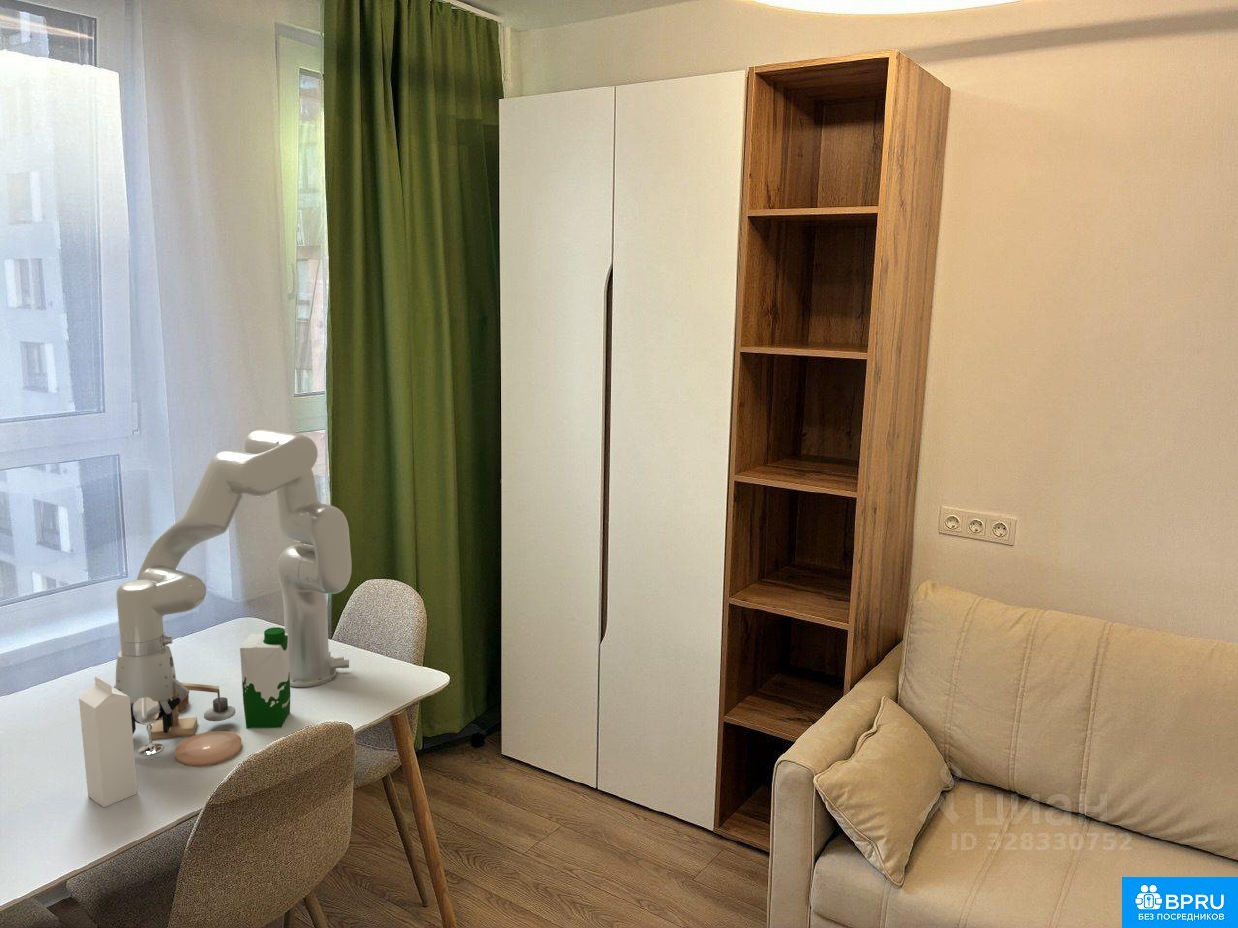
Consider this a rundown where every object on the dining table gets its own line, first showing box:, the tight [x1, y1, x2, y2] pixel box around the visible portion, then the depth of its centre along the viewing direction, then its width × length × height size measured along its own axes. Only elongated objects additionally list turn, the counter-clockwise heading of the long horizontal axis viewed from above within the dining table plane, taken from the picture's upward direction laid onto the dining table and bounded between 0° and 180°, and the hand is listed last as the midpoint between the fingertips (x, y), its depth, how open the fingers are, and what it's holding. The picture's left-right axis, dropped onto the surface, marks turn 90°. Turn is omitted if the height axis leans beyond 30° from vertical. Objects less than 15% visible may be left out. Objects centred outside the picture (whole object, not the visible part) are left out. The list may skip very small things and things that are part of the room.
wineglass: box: [131, 697, 165, 756], centre depth 183 cm, size 6×6×12 cm
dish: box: [174, 730, 243, 768], centre depth 184 cm, size 12×12×1 cm
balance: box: [151, 681, 236, 740], centre depth 190 cm, size 24×6×12 cm, turn 105°
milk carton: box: [239, 626, 291, 729], centre depth 195 cm, size 9×9×20 cm
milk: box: [78, 676, 138, 808], centre depth 166 cm, size 6×6×22 cm
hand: (149, 730), depth 183 cm, fingers closed on wineglass, 5 cm apart
